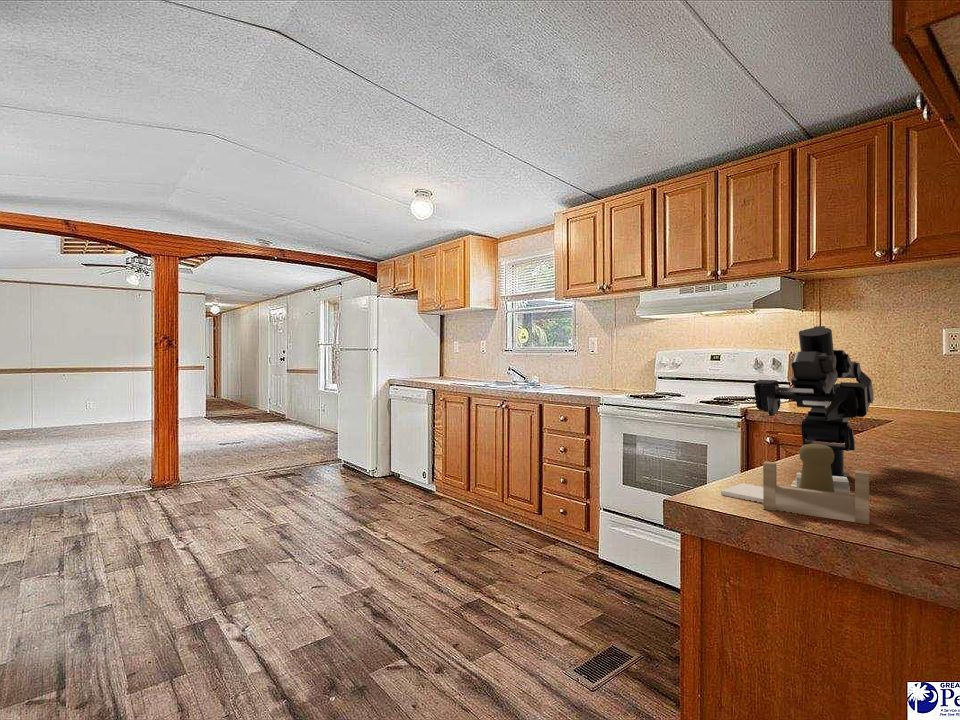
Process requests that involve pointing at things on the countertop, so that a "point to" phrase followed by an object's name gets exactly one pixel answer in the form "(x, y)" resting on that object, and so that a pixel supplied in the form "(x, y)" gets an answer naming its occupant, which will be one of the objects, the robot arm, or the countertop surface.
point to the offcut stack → (839, 483)
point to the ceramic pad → (745, 492)
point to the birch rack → (817, 498)
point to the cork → (816, 467)
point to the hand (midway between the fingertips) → (797, 415)
